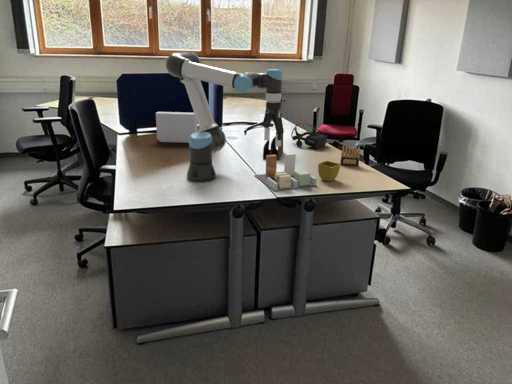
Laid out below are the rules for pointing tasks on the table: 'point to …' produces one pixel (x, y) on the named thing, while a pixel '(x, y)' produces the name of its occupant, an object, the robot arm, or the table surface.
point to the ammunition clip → (350, 157)
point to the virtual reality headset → (310, 138)
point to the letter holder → (273, 148)
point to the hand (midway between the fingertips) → (272, 143)
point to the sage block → (300, 176)
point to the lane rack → (274, 187)
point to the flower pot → (328, 170)
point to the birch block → (280, 178)
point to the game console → (175, 126)
